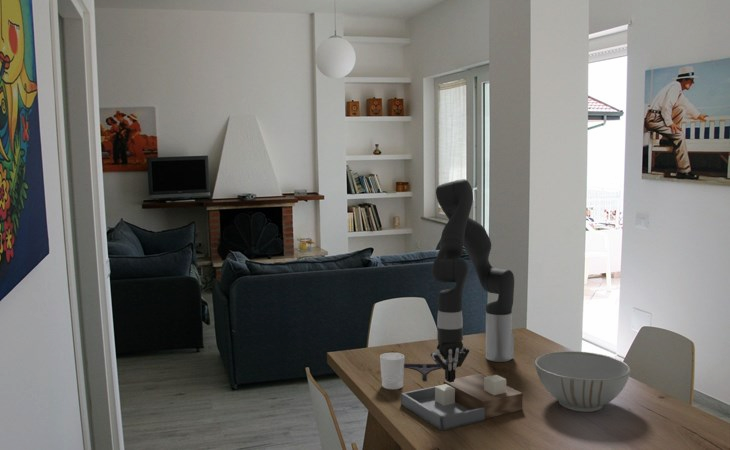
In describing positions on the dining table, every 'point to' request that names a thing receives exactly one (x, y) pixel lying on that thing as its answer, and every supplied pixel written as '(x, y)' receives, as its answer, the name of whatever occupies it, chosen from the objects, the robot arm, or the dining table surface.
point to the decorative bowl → (582, 378)
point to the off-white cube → (495, 384)
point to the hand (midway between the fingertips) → (450, 381)
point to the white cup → (392, 370)
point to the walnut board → (485, 396)
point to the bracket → (423, 368)
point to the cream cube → (444, 394)
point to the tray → (439, 410)
